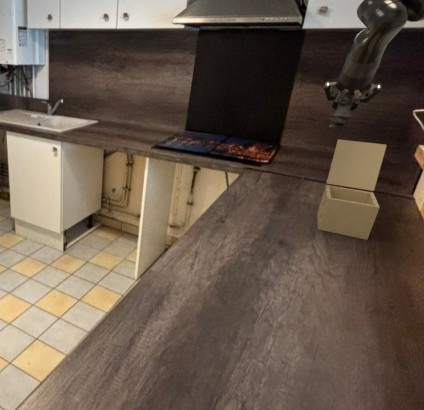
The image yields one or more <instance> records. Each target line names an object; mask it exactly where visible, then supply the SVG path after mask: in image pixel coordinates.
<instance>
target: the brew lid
mask: <svg viewBox="0 0 424 410" xmlns="http://www.w3.org/2000/svg"><path fill="white" fill-rule="evenodd" d="M386 150H387V144H385V143H384V144H382V143H374V142H365V141H356V140H346V139H339V138H338V139H337V142H336V146H335V149H334V153H333V157H332V161H331V164H330V168H329V173H328V176H327V180H326V185H332V186H338V187H339V186H345V187H351V188H357V189H364V191H369V192H374V191H375V190H376V185H377V181H378V179H379V174H380V171H381V167H382V164H383V161H384V156H385V154H386V153H385V152H386Z"/></svg>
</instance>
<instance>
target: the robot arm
mask: <svg viewBox="0 0 424 410" xmlns="http://www.w3.org/2000/svg"><path fill="white" fill-rule="evenodd" d="M356 15H357V17H358V19H359V20H360V22H361V23H362V24H363V25H364V27H366V28H363V29H362V30H360V32H359V33H357V34H356V35H355V37H354V39H353V42H352V44H351V47H350V50H349V53H348V54H347V56H346V57H345V61H344V64H343V66H342V69H341V71H340V75H339V78H338V79H337V80H335V81H333V82H331V81H330V80H326V81H325V83H324V89H323V90H324V93H325V96H326V100H327V101H329V102H331V101H333V102H332V105H331V109H333V110H334V111H337V110H338V107H339V104H340V103H339V102H340V101H341V99H342V98H343V97H344V95H354V96H353V100H352V102H353V103H352V104H351V107H350V112H354V111H355V110H357V108H358V106H359V104H361V103H362V104H367V103H368V102H370V101H371V100H372V99H374V98H375V97H376V96H377V95H378V94H380V93H381V91H382V87H383V86H382V83H381V82H379V83H376V84H375V83H373V79H374V77H375V74H376V73H377V71H378V70H379V68H380V63H381V61H382V57H383V55H384V53H385V50H386V48H387V46H388V44H389V43H390V42H391V41H392V40H393V39H394V38H395V36H397V34H398V33H399V32H401V30H402V29H403V28H404V27H405V26H406V24H407V23H408V22H410V23H416V22H421V21H424V0H361V1H360V2H359V4H358V6H357V9H356ZM335 88H336V89H337V92H336V93H334V89H335ZM366 91H367V92H366ZM364 92H365V93H364ZM362 93H364V94H363V95H362Z"/></svg>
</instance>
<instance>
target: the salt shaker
mask: <svg viewBox="0 0 424 410" xmlns="http://www.w3.org/2000/svg"><path fill="white" fill-rule="evenodd" d="M353 100H354V95H344V97H343V98H342V99H340V101H339V104H338V107H337V110H335V112H334V113H330V118H331V122H332V123H331V124H329V125H328V127H329V128H334V129H341V130H346V129H349V128H350V127H349V126H348V125H347V124H349V123H350V122H351V121H352V119H353V118H354V115H352V114H351V111H350V108H351V105H352V103H353Z"/></svg>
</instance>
